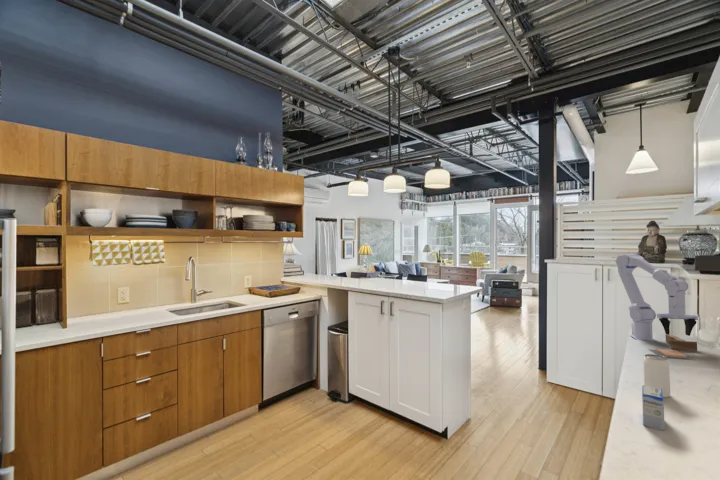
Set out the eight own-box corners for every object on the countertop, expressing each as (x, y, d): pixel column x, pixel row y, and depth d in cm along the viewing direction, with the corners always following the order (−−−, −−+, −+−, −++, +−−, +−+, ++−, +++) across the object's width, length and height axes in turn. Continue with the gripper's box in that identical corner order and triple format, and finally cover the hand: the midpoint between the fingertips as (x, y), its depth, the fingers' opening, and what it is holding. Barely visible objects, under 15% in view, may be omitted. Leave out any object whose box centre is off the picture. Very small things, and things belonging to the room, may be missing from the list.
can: (639, 392, 113) (638, 355, 113) (650, 388, 116) (649, 352, 116) (663, 399, 107) (662, 361, 108) (674, 395, 110) (673, 358, 110)
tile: (656, 349, 153) (666, 354, 145) (676, 350, 150) (686, 355, 143) (656, 351, 153) (666, 357, 145) (676, 353, 150) (687, 358, 143)
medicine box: (642, 414, 98) (641, 384, 99) (663, 419, 96) (662, 388, 96) (643, 426, 92) (641, 393, 93) (665, 431, 90) (663, 398, 90)
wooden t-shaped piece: (657, 342, 168) (657, 333, 168) (680, 344, 165) (680, 335, 165) (672, 350, 155) (672, 340, 155) (697, 352, 152) (697, 342, 153)
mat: (648, 350, 156) (648, 349, 156) (679, 352, 153) (679, 351, 153) (662, 359, 144) (662, 357, 144) (696, 361, 141) (696, 360, 141)
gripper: (662, 306, 158) (662, 335, 157) (701, 307, 153) (702, 338, 153) (654, 303, 164) (655, 331, 164) (692, 304, 160) (693, 334, 159)
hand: (677, 334), depth 159 cm, fingers open, 7 cm apart
